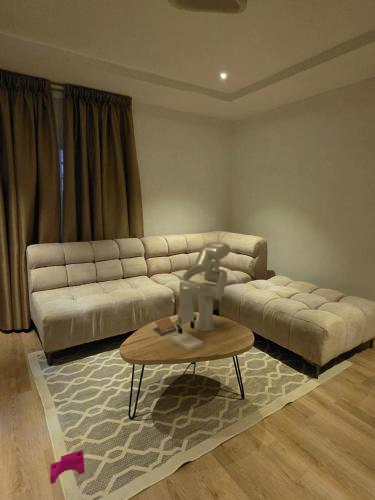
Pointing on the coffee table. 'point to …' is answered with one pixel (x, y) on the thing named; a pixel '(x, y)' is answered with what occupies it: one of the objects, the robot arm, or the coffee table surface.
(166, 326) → the latch flap
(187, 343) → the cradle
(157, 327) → the hinge plinth
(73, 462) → the toy block
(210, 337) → the coffee table surface
